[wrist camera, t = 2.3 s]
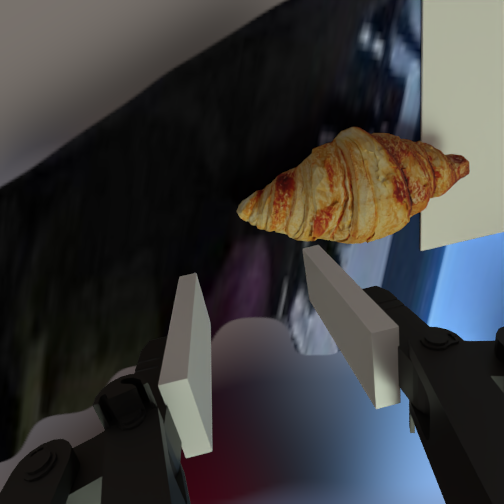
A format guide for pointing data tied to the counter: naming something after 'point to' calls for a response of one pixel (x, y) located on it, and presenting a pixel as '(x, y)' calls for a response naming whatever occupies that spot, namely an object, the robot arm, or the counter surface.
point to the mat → (464, 115)
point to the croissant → (354, 188)
